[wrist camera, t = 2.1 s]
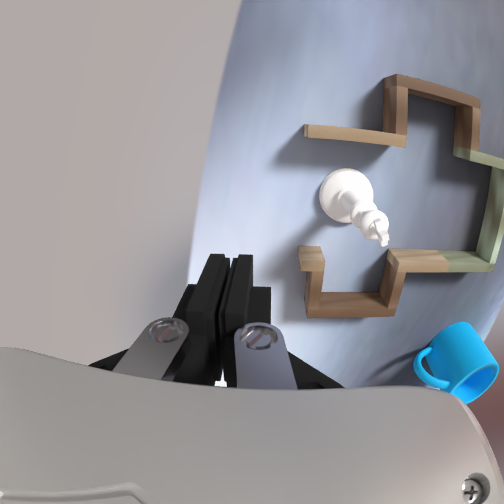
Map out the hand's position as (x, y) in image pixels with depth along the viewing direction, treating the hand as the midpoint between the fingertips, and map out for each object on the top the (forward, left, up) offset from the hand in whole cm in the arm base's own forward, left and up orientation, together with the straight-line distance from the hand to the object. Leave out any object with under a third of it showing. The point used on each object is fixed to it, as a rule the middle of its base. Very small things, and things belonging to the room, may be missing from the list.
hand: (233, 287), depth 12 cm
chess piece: (0, +8, -15) cm, 17 cm away
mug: (+19, +25, -15) cm, 35 cm away
